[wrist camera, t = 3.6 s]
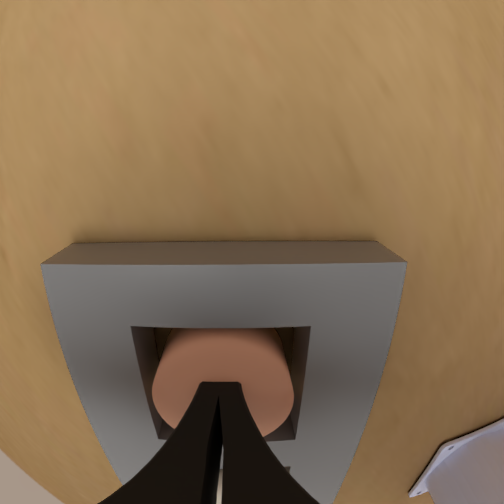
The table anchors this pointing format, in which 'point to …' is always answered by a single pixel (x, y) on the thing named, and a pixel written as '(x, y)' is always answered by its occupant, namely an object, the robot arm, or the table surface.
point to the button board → (229, 316)
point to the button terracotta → (225, 372)
